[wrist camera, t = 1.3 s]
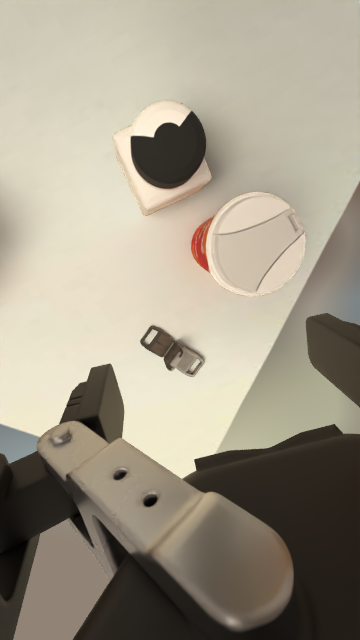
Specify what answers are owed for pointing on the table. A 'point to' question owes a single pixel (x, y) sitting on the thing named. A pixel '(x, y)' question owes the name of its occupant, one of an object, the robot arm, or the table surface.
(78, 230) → the table surface
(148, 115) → the medicine bottle
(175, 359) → the strap clip
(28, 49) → the table surface
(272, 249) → the coffee cup
